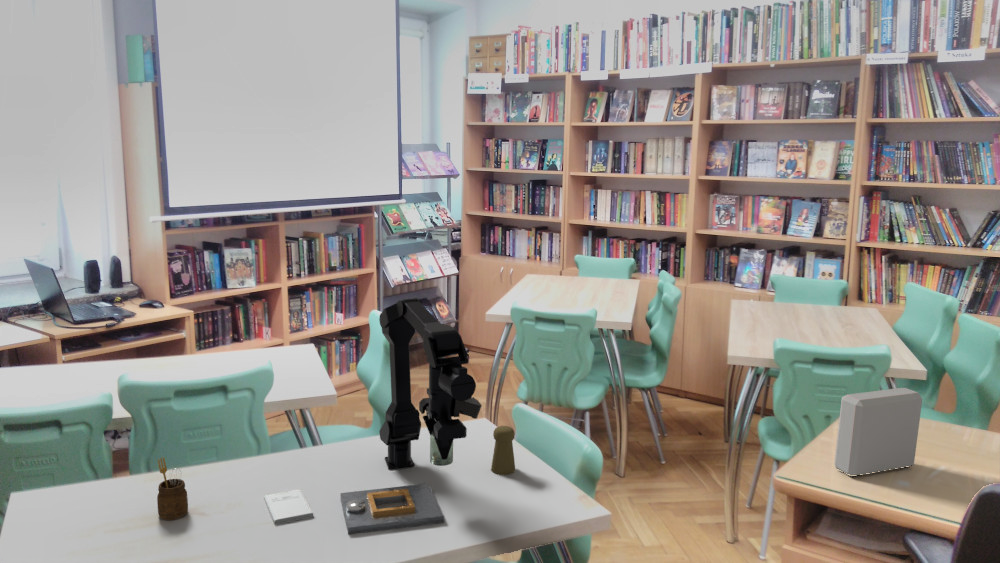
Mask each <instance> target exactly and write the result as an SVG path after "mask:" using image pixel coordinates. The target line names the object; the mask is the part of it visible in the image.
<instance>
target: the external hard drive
mask: <svg viewBox="0 0 1000 563" xmlns="http://www.w3.org/2000/svg"><path fill="white" fill-rule="evenodd" d="M263 500H264V503H265V505H266V508H267V510H268V513H269V515H270V517H271V519H272V522H273V524H274V525H278V524H279V525H280V524H284V523H289V522H295V521H299V520H304V519H310V518H313V517H315V515H314V512H313V510H312V509H311V507H310V505H309V503H308V501H307V499H306V496H305V495H304V493H303V491H302V490H301V489H298V488H297V489H293V490H288V491H282V492H277V493H272V494H270V493H269V494H266V495H264V496H263Z"/></svg>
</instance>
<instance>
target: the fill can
mask: <svg viewBox="0 0 1000 563" xmlns="http://www.w3.org/2000/svg"><path fill="white" fill-rule="evenodd" d="M429 436H430V437H429V440H430V441H429V442H430V443H429V445H430V446H429V449H430V450H429V461H430V464H432V465H434V466H438V467H440V466H441V467H443V466H445V467H446V466H449V465H451V464H452V463H453V462H454V441H453V442H452V445H451V448H450V451H449V454H448V458H447V459H445V460H442V458H441V455H440V453H439V450H438V447H437V445H436V442H435V439H434V437H433V434H432V433H431V435H430V434H429Z"/></svg>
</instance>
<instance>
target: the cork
mask: <svg viewBox="0 0 1000 563" xmlns="http://www.w3.org/2000/svg"><path fill="white" fill-rule="evenodd" d="M495 427H496V426H495ZM515 433H516V432H515V430H514V428H512V427H511V426H509V425H499V426H497V427H496V428H494V429H493V439H494V440H495V441H494V442H495V443H494V449H493V454H492V461H491V468H490V471H491V472H492V473H493V474H495V475H498V474H499V476H508V475H512V474H514V473H515V472H516V463H515V462H516V461H515V453H514V446H513V445H514V444H513V441H514V439H515Z"/></svg>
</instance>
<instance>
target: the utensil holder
mask: <svg viewBox="0 0 1000 563" xmlns="http://www.w3.org/2000/svg"><path fill="white" fill-rule="evenodd" d="M157 464H158V469H159V473H160V474H162V475H163V479H164V480H163V481H162V482H160V483H159V484H158V493H157V498H156V502H157V504H156V505H157V512H158V517H159V518H160V519H161V520H165V521H175V520H178V519H181V518H183V517H184V516H186V515H187V513H188V512H189V511H188V510H189V501H188V500H189V499H188V498H189V497H188V491H187V489H186V483H185V481H184V480H183V479H182V478H171V476H169V479H167V476H166V473H167V471H168V468H167V464H166V460H165V457H164V456H162V457H160V458H157ZM178 470H179V471H180V472H179V473H180V477H182V470H180V468H179V467H178V468H177V467H176V468H175V467H174V468H173V469H171V470H170V472H169V473H170V475H173V472H174V471H175V472H174V473H175V476H177V475H178V474H177V471H178Z"/></svg>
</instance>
